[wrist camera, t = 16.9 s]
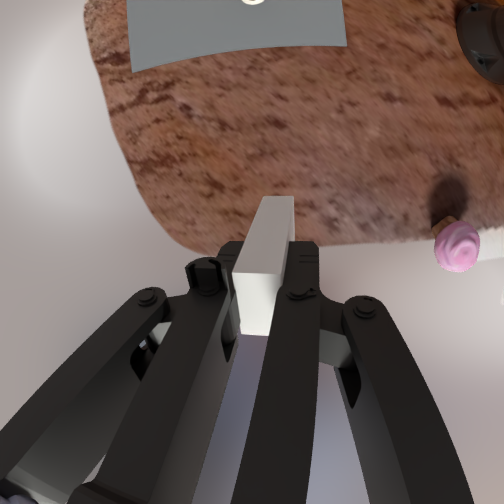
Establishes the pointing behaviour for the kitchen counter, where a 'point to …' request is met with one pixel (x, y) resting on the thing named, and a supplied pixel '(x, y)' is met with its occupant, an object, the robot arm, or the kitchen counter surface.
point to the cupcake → (455, 244)
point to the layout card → (227, 27)
